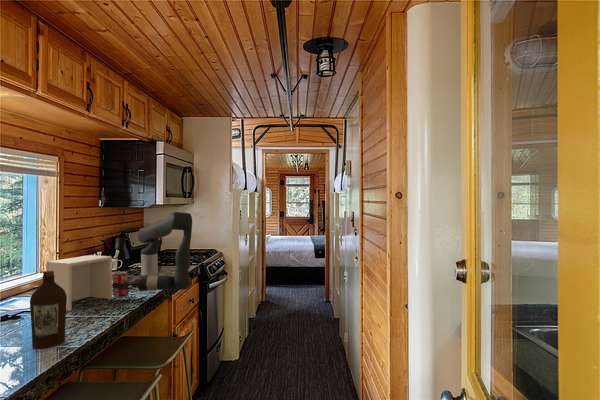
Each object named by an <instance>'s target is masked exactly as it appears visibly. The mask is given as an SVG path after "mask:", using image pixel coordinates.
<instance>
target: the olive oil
mask: <svg viewBox="0 0 600 400" xmlns="http://www.w3.org/2000/svg"><path fill="white" fill-rule="evenodd" d="M42 274H43V275H42V283H41V284H40V285H39V286H38V287H37V288H36V290H35V291H33V293H32V295H31V296H30V300H29V311H30V324H31V325H30V326H31V344H32V345H31V346H32V347H33V348H34V349H48V348H52V347H56V346H60V345H61V344H63V343H64V342H65V340H66V318H67V317H66V316H67V315H66V314H67V310H66V302H67V296H66V293H65V291H64V289H63V288H61V287H60V286H59V285H58V284H56V283H55V281H54V271H47V270H46V271H45V270H44V271H43V272H42Z"/></svg>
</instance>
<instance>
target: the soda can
mask: <svg viewBox="0 0 600 400" xmlns="http://www.w3.org/2000/svg"><path fill="white" fill-rule="evenodd" d="M129 276H130V275H129V274H128V272H127V271H116V272H114V274H113V275H112V284H113V283H124V282H126V281H129V279H130V277H129ZM124 286H125V285H123V287H124ZM129 293H130V289H120V288H113V287H112V296H113V297H114V298H116V299H123V298H126V297H128V296H129Z"/></svg>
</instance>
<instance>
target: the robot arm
mask: <svg viewBox="0 0 600 400" xmlns="http://www.w3.org/2000/svg"><path fill="white" fill-rule="evenodd" d="M174 230H175V231H183V237H182V240H181V242H180V243H179V244H178V247H177V249H176V251H175V256H174V257H175V259H174V260H175V271H174V275H173V276H172V275H166V274H165V275H159V273H158V272H159V271H158V269H159V266H158V264H159V262H158V253H159V239H160V238H164V237H167V236H168V235H169V236H170V235H171V233H172V231H174ZM192 230H193V216H192V215H191V213H189V212H179V211H174V212H172V213H170V214H169V215H167V216H166V217H164V218H163V219H159V220H158V221H156V222H155V223H154V222H153V223H152V224H150V225H149V226H145V227H141V228H139V230H138V232H137V240H138V241H139V242H140V243H142V244H148V243H149V245H147V246H146V247H144V248H142V249H141V250H140V266H141V267H140V276H139V277H136V278H135V277H131V278H129V281H126V282H124V283H113V282H112V289H113V288H120V289H129V290H132V289H136V288H138V291H140V292H149V291H152V292H153V291H154V292H155V291H167V290H177V291H178V290H179V291H185V290H188V289H190V288H191V287H192V285H193V280H192V278H191V276H189V271H190V268H191V253H190V251H191V250H190V249H191V241H192V240H191V239H192V232H193V231H192ZM123 285H125V286H124V287H123Z"/></svg>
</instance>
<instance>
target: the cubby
mask: <svg viewBox="0 0 600 400" xmlns="http://www.w3.org/2000/svg"><path fill="white" fill-rule="evenodd" d="M112 259H113V256H110V255H109V256H108V255H98V254H97V255H96V254H88V255H81V256H75V257H70V258H62V259H56V260H49V261H46V271H54V281H55V283H56V284H58V285H59V286H60V287H61V288H63V289H64V291H65V293H66V296H67V302H66V312H67V311H68V312H69V311H70V312H71V311H72V308H73V307H72V304H73V303H72V302H75V301H79V300H82V299H86V298H89V297H93V298H99V299H106V300H112V299H113V287H112V284H113V272H112V271H113V262H112V261H113V260H112Z"/></svg>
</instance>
